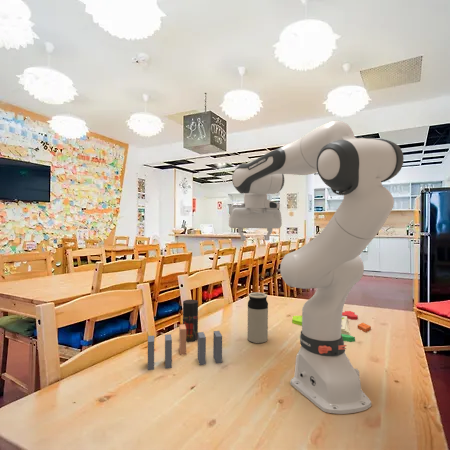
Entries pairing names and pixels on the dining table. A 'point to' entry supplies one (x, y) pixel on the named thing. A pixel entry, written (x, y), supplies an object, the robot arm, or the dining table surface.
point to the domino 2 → (168, 351)
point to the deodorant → (191, 319)
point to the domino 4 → (201, 348)
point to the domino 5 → (217, 347)
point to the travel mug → (257, 318)
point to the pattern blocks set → (344, 325)
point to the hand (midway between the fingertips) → (255, 240)
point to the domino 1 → (150, 352)
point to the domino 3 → (182, 339)
